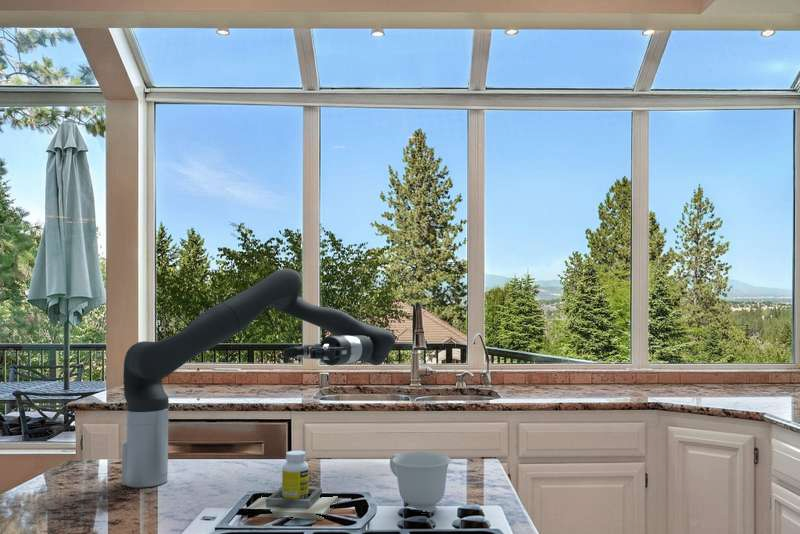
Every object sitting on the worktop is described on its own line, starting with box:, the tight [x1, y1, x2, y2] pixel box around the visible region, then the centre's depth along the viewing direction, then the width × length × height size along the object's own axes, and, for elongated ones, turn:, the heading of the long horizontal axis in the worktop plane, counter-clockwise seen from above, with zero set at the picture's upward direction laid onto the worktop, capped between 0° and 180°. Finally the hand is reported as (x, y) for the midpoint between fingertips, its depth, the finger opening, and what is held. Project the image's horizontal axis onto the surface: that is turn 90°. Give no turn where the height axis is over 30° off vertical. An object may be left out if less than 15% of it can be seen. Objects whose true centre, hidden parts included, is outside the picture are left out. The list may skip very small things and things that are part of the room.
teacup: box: [389, 451, 452, 513], centre depth 129 cm, size 12×15×10 cm
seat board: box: [246, 486, 341, 521], centre depth 130 cm, size 16×14×3 cm
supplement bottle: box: [281, 450, 310, 499], centre depth 131 cm, size 5×5×10 cm
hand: (298, 353), depth 152 cm, fingers open, 8 cm apart
